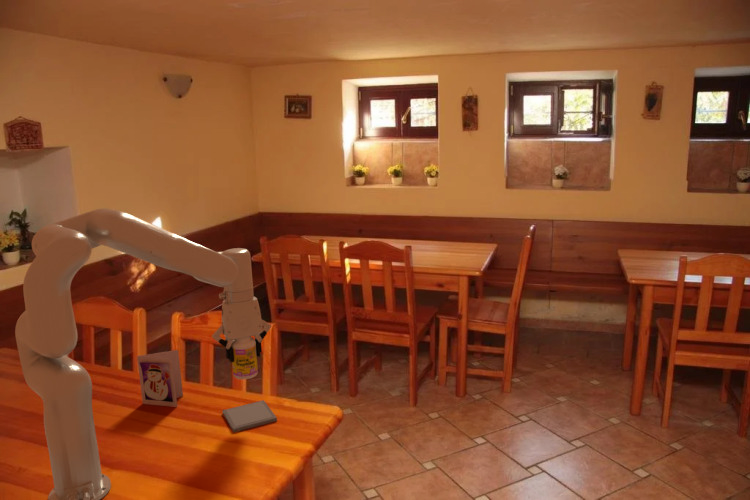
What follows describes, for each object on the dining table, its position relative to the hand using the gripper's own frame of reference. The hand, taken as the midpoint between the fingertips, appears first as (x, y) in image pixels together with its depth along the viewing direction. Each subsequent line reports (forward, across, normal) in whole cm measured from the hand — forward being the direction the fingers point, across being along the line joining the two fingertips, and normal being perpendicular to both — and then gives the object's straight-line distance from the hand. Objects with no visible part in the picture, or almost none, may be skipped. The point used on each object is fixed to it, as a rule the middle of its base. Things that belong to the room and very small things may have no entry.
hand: (244, 357), depth 162 cm
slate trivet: (+18, 0, 0) cm, 18 cm away
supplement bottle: (+5, 0, 0) cm, 5 cm away
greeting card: (+18, -19, +23) cm, 35 cm away
